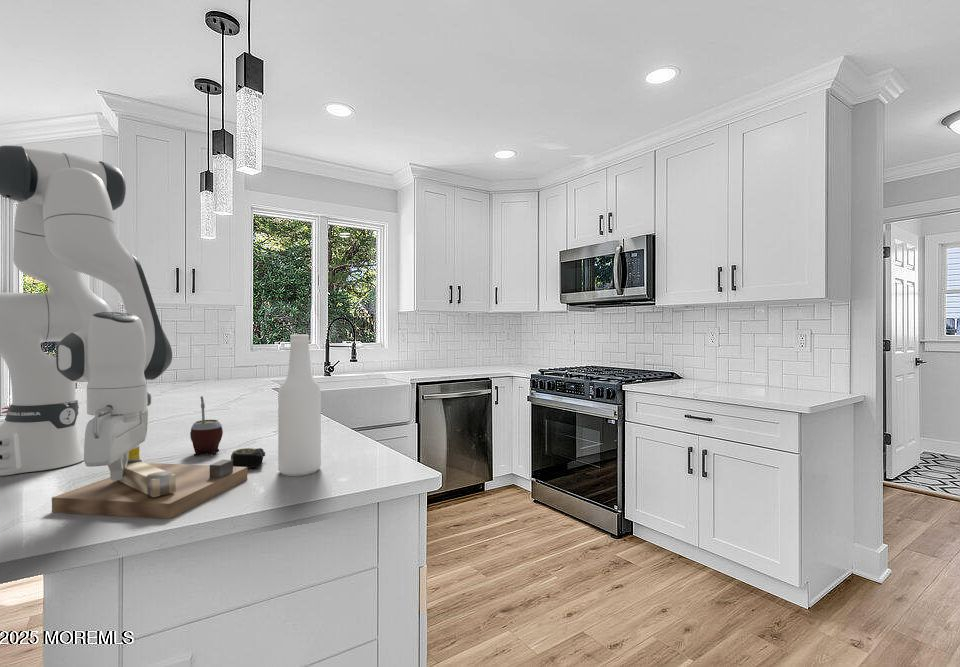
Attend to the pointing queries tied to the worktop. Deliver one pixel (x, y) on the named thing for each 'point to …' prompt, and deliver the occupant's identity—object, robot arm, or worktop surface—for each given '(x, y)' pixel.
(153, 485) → the folding leg
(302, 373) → the alcohol
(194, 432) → the mate gourd
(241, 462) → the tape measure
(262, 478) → the worktop surface
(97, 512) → the wooden cutting board
